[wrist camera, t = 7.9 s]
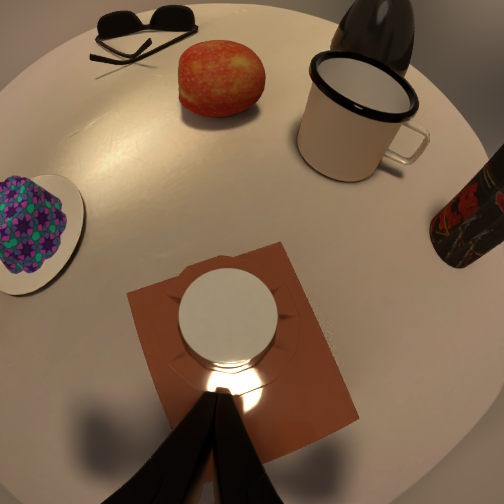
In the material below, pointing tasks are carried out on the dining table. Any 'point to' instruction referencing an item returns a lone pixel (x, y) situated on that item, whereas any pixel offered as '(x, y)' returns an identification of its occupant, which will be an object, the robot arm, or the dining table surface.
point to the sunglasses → (130, 23)
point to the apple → (219, 78)
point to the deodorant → (472, 217)
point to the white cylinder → (228, 317)
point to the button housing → (255, 371)
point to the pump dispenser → (378, 32)
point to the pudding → (36, 230)
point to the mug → (355, 115)
